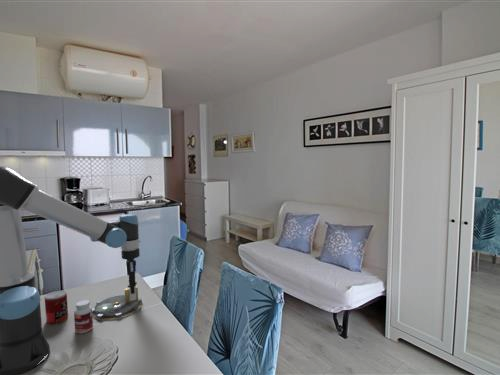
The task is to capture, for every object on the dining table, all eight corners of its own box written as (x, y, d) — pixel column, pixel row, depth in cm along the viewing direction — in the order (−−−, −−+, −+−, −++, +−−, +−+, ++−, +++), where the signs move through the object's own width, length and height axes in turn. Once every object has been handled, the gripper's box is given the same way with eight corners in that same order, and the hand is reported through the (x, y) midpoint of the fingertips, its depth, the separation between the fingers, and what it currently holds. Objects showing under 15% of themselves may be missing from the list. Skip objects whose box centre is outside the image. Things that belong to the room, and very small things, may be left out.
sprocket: (144, 311, 126) (144, 295, 126) (90, 324, 117) (89, 306, 116) (138, 293, 145) (137, 278, 144) (91, 302, 135) (90, 287, 134)
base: (143, 313, 126) (143, 313, 126) (89, 325, 117) (89, 324, 117) (139, 294, 145) (139, 293, 145) (92, 303, 136) (92, 302, 136)
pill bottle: (73, 335, 110) (71, 307, 109) (77, 326, 116) (75, 300, 115) (91, 332, 112) (89, 305, 111) (94, 324, 118) (93, 298, 117)
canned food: (57, 325, 117) (55, 299, 117) (41, 323, 119) (39, 297, 118) (72, 315, 125) (71, 291, 124) (57, 313, 126) (55, 289, 126)
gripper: (140, 251, 126) (142, 303, 127) (138, 244, 137) (140, 292, 139) (121, 253, 122) (124, 307, 124) (121, 246, 134) (123, 296, 135)
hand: (133, 299), depth 131 cm, fingers closed
